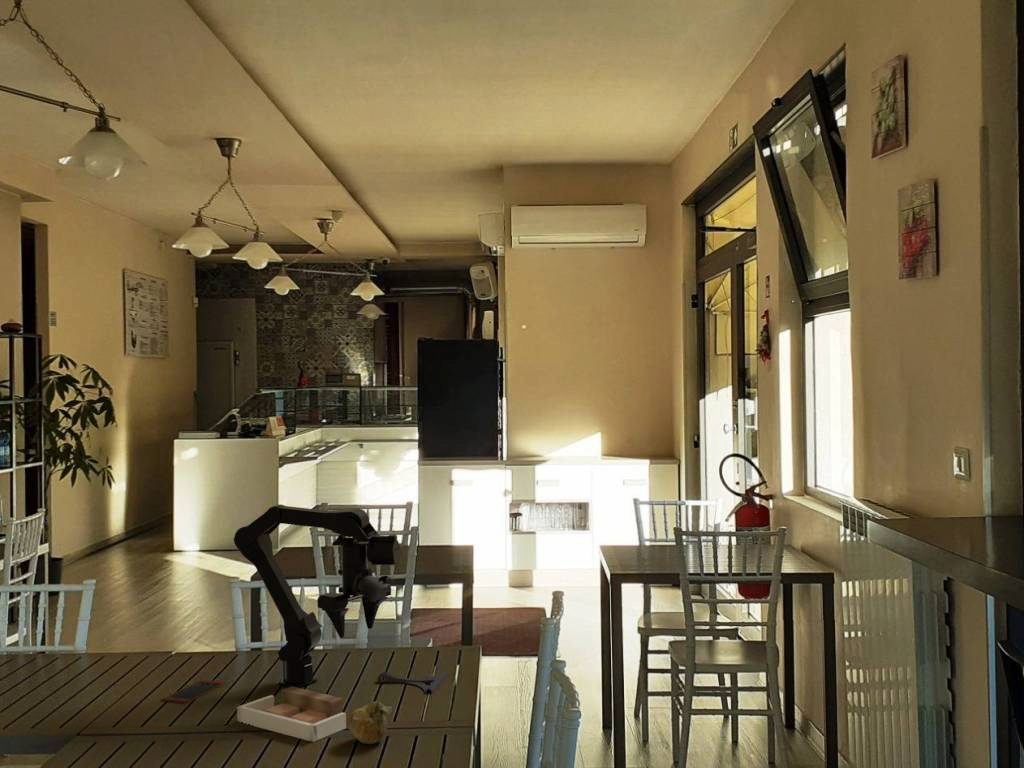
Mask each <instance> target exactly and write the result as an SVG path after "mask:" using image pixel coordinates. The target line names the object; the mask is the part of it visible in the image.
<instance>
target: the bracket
mask: <svg viewBox="0 0 1024 768" xmlns="http://www.w3.org/2000/svg"><path fill="white" fill-rule="evenodd" d="M439 674H440V675H439ZM439 674H436V675H439V676H436V675H433V676H429V677H424V678H408V677H402V676H398V675H395V674H391V673H389V672H386V671H385V672H384V671H382V672H381V673H379V674H378V676H377V682H378V683H383V682H390V683H389V684H392V683H391V682H394V683H393V684H396V683H395V682H399V683H398V684H406V685H407V684H408V685H412V684H413V685H412V686H415V685H417V686H416V687H418V686H419V687H418V688H420V687H421V688H422V689H423V690H424V691H423V690H422V689H421V688H420V689H421V690H422V691H423V693H424V692H425V694H427V693H426V692H427V691H428V690H429V691H428V692H430V694H431V693H432V694H433V693H434V692H435V691H436V690H437V689H438V687H439V686H440V685H441V684H442V683H443V681H444V680H445V679H446V678H447V677H448V675H449V672H448V670H446V669H444V670H442V671H440V673H439ZM446 676H447V677H446ZM445 677H446V678H445ZM382 678H383V679H384V680H383V679H382ZM441 682H442V683H441ZM425 683H432V684H425ZM440 683H441V684H440ZM439 684H440V685H439ZM438 685H439V686H438ZM436 688H437V689H436ZM435 689H436V690H435ZM434 690H435V691H434Z"/></svg>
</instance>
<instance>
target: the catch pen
mask: <svg viewBox="0 0 1024 768" xmlns="http://www.w3.org/2000/svg"><path fill="white" fill-rule="evenodd" d="M274 706H275V696H274V695H272V694H271V695H268V696H265V697H262V698H259V699H256V700H253V701H250V702H247V703H244V704H242V705H239V706H237V707H236V710H237V711H236V713H237V715H236V716H237V717H236V718H237V722H238V721H239V723H241V722H243V723H242V724H245V723H246V724H245V725H248V724H250V725H249V726H252V725H253V727H256V728H260V729H264V730H267V731H271V732H275V733H279V734H282V735H286V736H289V737H290V736H291V737H294V738H298V739H300V740H304V741H309V742H313V743H314V742H316V741H318V740H321V739H325V738H326V737H328V736H331V735H333V734H336V733H338V732H340V731H342V730H345V729H347V716H346V714H347V713H346V712H342V713H339V714H337V715H334V716H332V717H329V718H327V719H324V720H322V721H319V722H317V723H314V724H311V723H307V722H303V721H299V720H295V719H291V718H288V717H284V716H280V715H276V714H272V713H268V712H265V709H268V708H271V707H274Z"/></svg>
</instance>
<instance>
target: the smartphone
mask: <svg viewBox="0 0 1024 768" xmlns="http://www.w3.org/2000/svg"><path fill="white" fill-rule="evenodd" d="M199 683H201V684H199ZM204 683H205V684H204ZM196 684H198V685H196ZM211 684H212V685H211ZM225 684H227V685H228V682H227V681H223V680H221V681H219V680H211V679H202V680H199V681H196V682H195V683H193V684H190V685H189V686H185V687H184V688H182V689H180V690H177V691H175V692H173V693H171V694H168V695H166V696H165V697H163V698H161V700H160V702H162V701H166V702H165V703H171V702H176V703H175V704H180V703H188V704H190V703H191V702H190V701H192V702H194V701H196V700H198V699H200V698H199V697H201V696H203V695H204V694H207V693H208V692H211V691H213V690H215V689H217V688H219V687H221V686H223V685H225ZM194 685H195V686H194ZM217 685H219V686H217ZM192 686H193V687H192ZM225 686H226V685H225ZM223 687H224V686H223ZM221 688H222V687H221ZM219 689H220V688H219ZM217 690H218V689H217ZM215 691H216V690H215ZM213 692H214V691H213ZM211 693H212V692H211ZM207 695H208V694H207ZM203 697H204V696H203ZM197 698H198V699H197ZM201 698H202V697H201ZM195 699H196V700H195ZM193 700H194V701H193ZM189 702H190V703H189Z"/></svg>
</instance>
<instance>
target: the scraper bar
mask: <svg viewBox="0 0 1024 768" xmlns="http://www.w3.org/2000/svg"><path fill="white" fill-rule="evenodd" d="M280 691H281V692H280V693H281V700H280V701H281V702H280V704H283V703H285V704H289V705H292V706H296V707H300V713H302V712H304V711H307V710H313V711H317V712H321V713H325V714H327V718H329V717H332V716H334V715H337V714H339V713H342V712H343V698H342V697H339V696H335V695H330V694H326V693H321V692H317V691H313V690H309V689H305V688H302V687H299V688H297V687H293V686H292V687H290V686H288V687H286V688H284V689H281V690H280ZM343 713H344V712H343Z"/></svg>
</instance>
